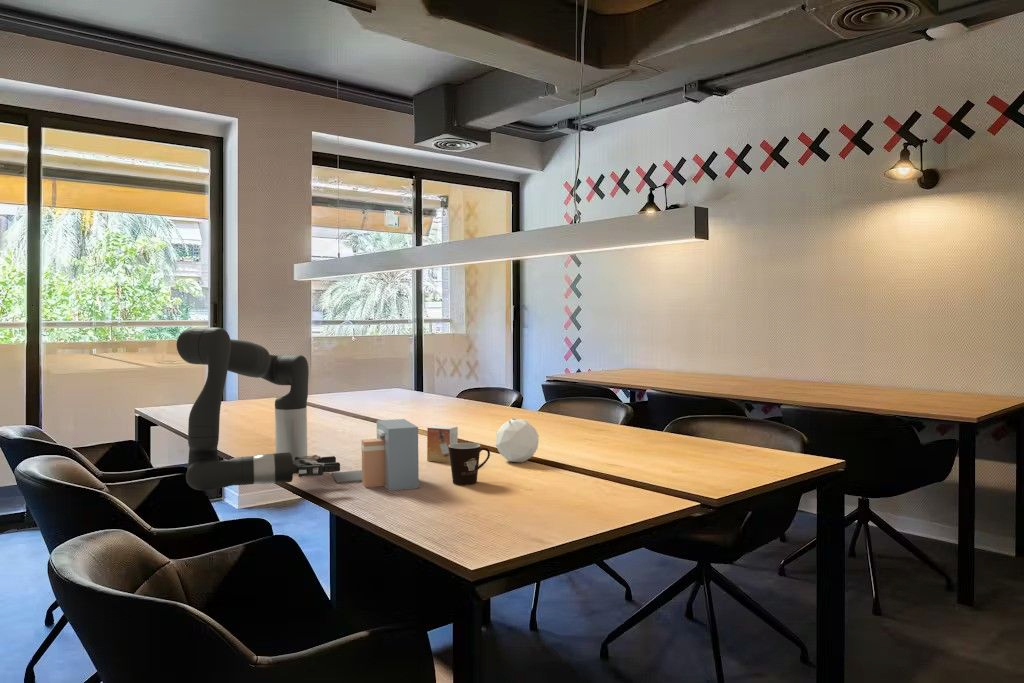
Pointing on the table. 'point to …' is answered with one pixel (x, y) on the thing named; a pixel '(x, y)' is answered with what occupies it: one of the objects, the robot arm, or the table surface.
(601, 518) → the table surface
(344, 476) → the mat
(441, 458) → the small box
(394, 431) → the dispenser
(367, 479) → the small cardboard carton
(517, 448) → the geodesic sphere
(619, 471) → the table surface
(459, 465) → the coffee mug
